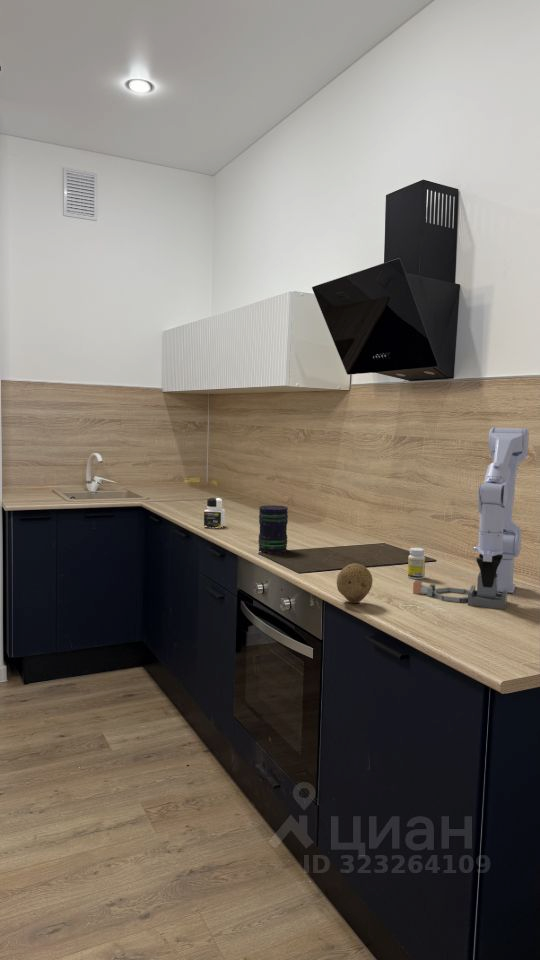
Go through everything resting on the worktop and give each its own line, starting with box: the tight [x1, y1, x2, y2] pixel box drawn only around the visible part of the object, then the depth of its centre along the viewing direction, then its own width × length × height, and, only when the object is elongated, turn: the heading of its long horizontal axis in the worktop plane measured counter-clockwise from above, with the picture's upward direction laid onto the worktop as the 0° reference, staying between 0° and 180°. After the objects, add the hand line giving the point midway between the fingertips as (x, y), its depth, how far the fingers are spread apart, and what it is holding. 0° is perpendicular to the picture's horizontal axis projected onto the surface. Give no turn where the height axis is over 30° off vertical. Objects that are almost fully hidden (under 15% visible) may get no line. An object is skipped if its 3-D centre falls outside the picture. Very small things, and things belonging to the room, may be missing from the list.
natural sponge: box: [336, 563, 374, 604], centre depth 170 cm, size 9×9×10 cm
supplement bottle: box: [407, 547, 426, 580], centre depth 199 cm, size 5×5×8 cm
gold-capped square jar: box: [476, 571, 498, 598], centre depth 173 cm, size 4×4×8 cm
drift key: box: [412, 580, 432, 595], centre depth 182 cm, size 3×4×3 cm, turn 68°
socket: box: [426, 583, 470, 603], centre depth 179 cm, size 11×12×2 cm
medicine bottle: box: [203, 497, 226, 529], centre depth 282 cm, size 7×7×12 cm
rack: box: [467, 585, 508, 610], centre depth 173 cm, size 8×9×3 cm
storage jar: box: [258, 505, 289, 554], centre depth 235 cm, size 10×10×15 cm
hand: (488, 584), depth 173 cm, fingers closed on gold-capped square jar, 4 cm apart
